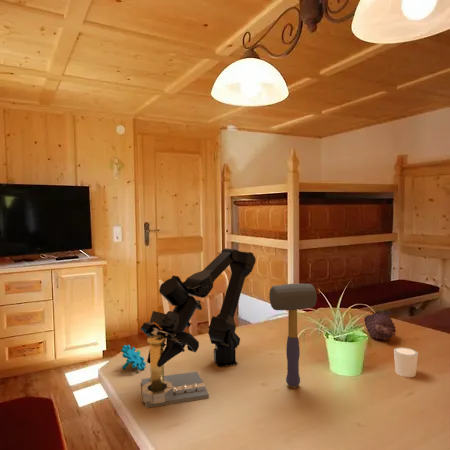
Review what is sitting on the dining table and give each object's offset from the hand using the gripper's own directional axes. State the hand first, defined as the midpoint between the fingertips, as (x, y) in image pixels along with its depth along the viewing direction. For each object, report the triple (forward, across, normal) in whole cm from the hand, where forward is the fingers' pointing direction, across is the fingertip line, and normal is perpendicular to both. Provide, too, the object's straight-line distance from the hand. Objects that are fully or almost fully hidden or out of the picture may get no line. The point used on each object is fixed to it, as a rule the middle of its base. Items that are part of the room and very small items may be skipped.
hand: (153, 364), depth 100 cm
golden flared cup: (+4, 0, +6) cm, 7 cm away
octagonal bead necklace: (+1, 0, +12) cm, 12 cm away
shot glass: (-34, +50, +49) cm, 78 cm away
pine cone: (-53, +34, +68) cm, 93 cm away
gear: (0, -22, +15) cm, 26 cm away
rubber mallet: (-14, +26, +29) cm, 41 cm away
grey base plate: (+2, 0, +13) cm, 13 cm away
